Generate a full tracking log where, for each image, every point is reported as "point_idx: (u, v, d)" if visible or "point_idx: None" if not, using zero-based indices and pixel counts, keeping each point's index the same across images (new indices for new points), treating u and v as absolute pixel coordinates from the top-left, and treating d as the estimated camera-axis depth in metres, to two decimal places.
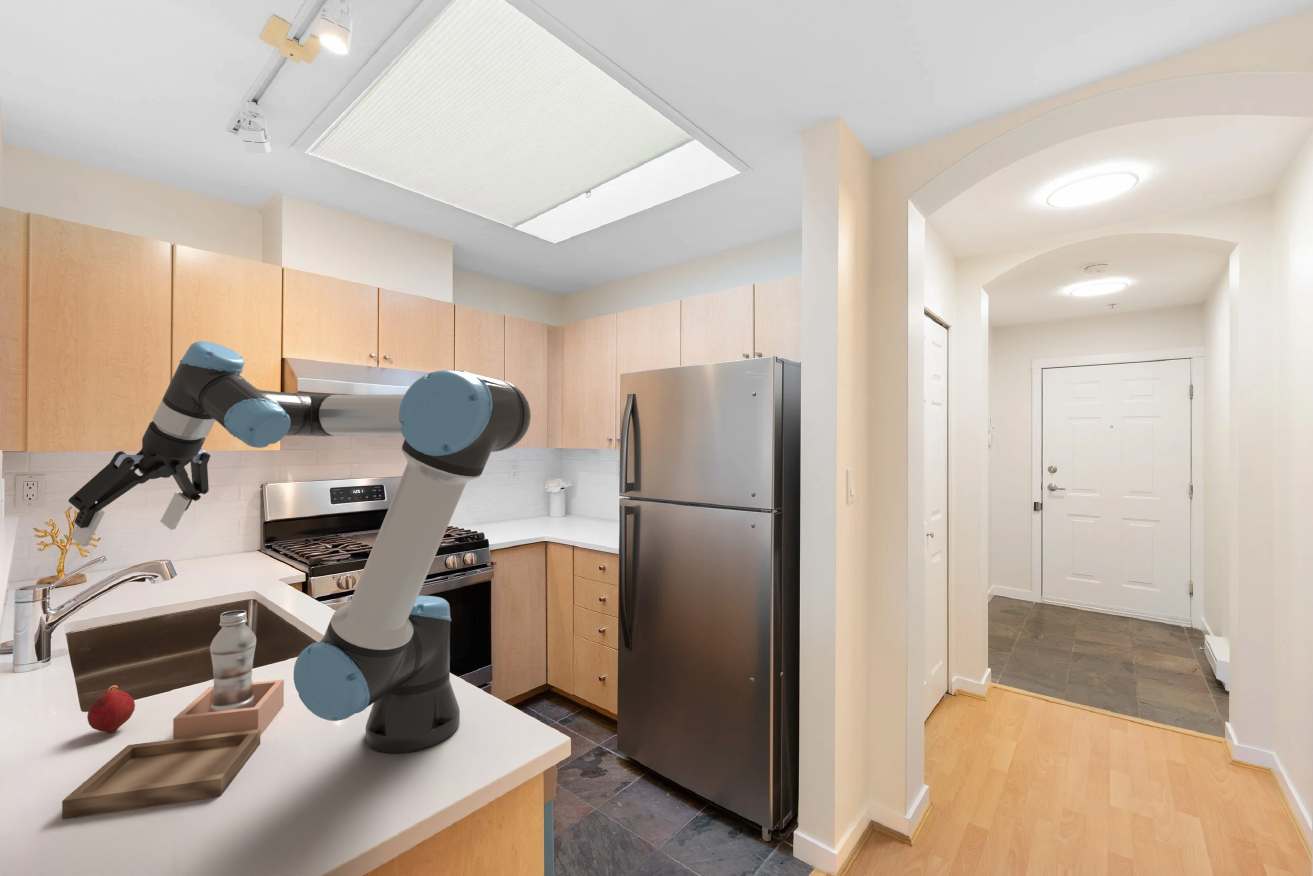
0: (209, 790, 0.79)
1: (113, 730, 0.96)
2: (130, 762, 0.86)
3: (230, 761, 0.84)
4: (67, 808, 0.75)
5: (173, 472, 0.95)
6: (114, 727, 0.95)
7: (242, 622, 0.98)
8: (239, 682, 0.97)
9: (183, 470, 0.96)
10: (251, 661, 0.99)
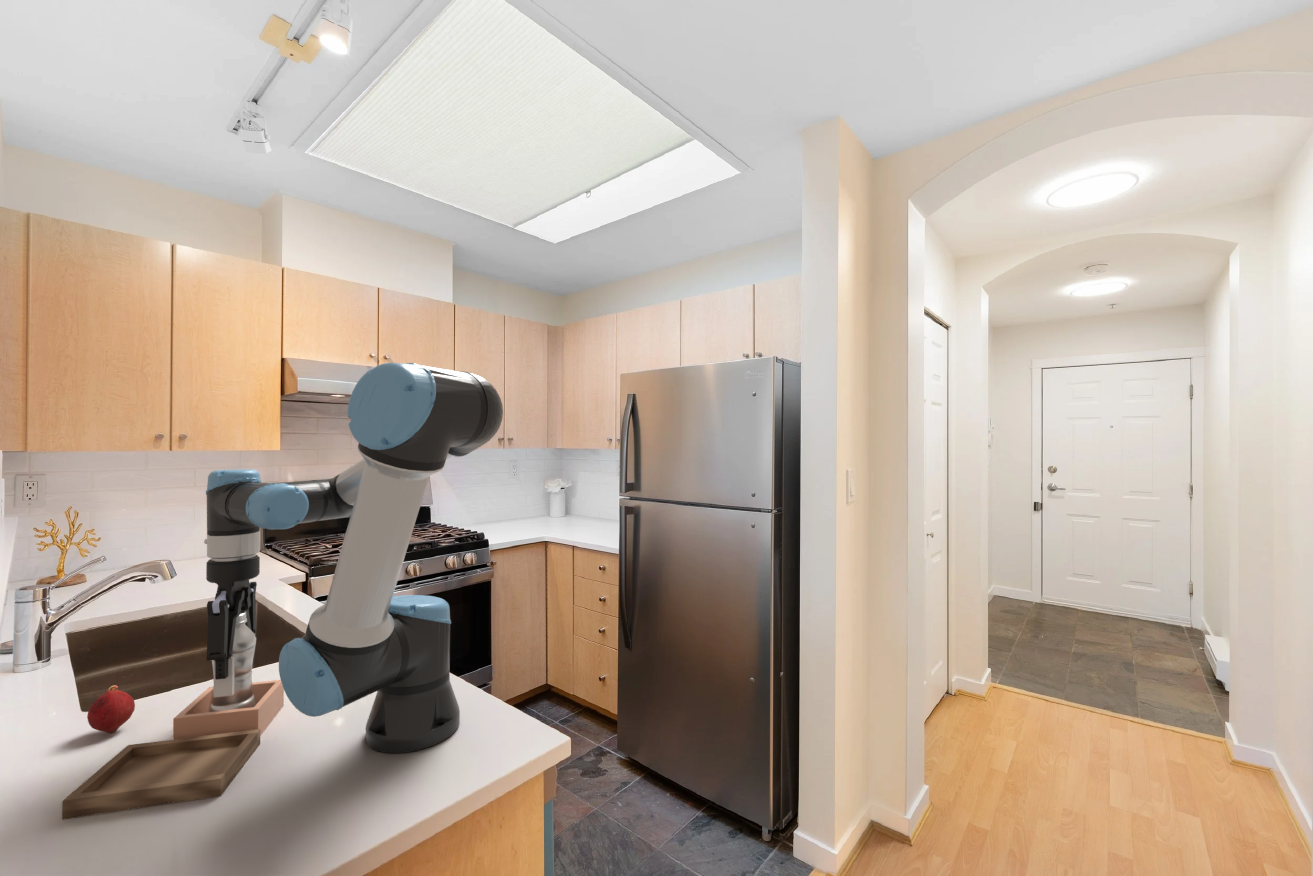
0: (209, 790, 0.79)
1: (113, 730, 0.96)
2: (130, 762, 0.86)
3: (230, 761, 0.84)
4: (67, 808, 0.75)
5: (242, 601, 1.00)
6: (114, 727, 0.95)
7: (242, 622, 0.98)
8: (239, 682, 0.97)
9: (249, 597, 1.01)
10: (251, 661, 0.99)
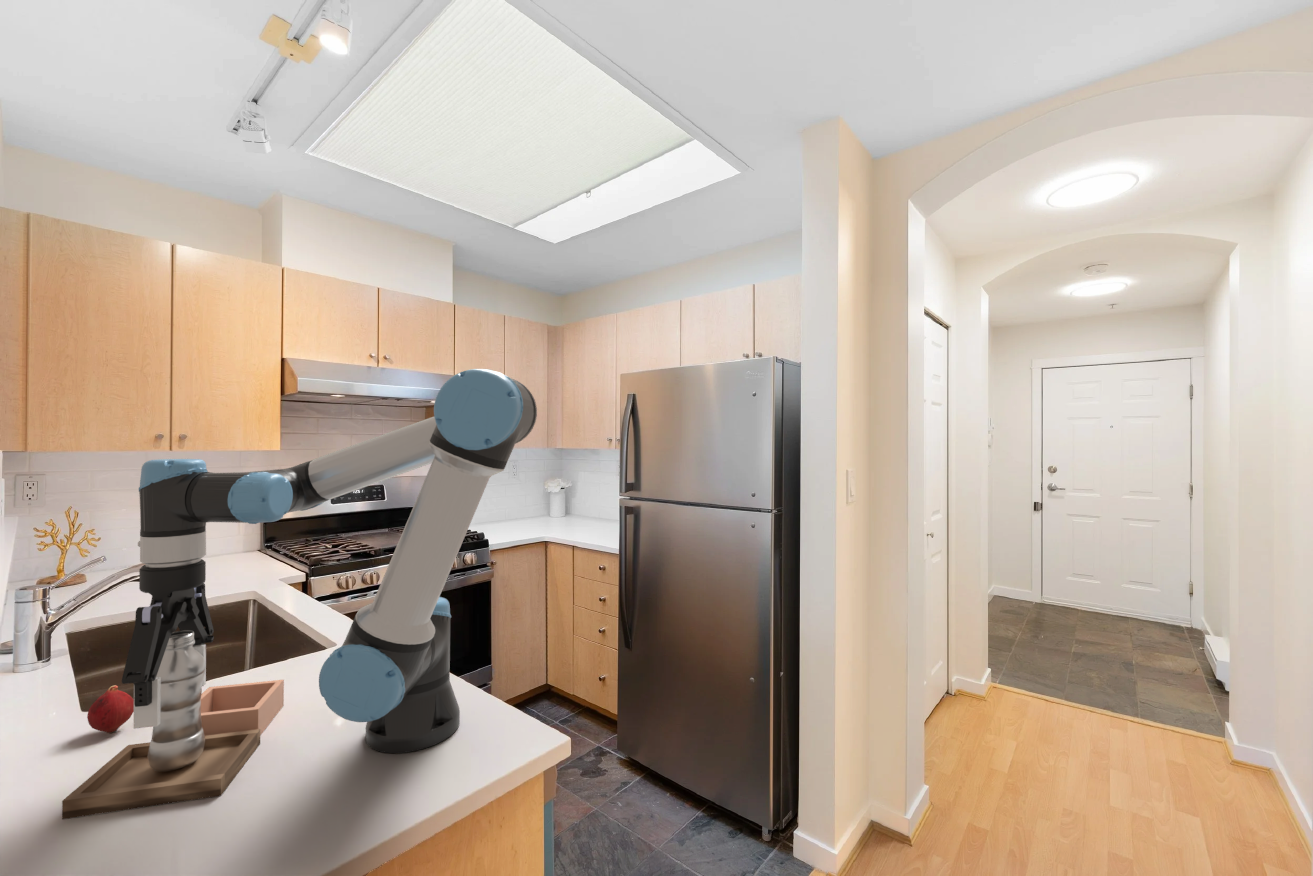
0: (209, 790, 0.79)
1: (113, 730, 0.96)
2: (130, 762, 0.86)
3: (230, 761, 0.84)
4: (67, 808, 0.75)
5: (187, 612, 0.85)
6: (114, 727, 0.95)
7: (188, 645, 0.85)
8: (184, 715, 0.84)
9: (195, 606, 0.87)
10: (199, 690, 0.86)
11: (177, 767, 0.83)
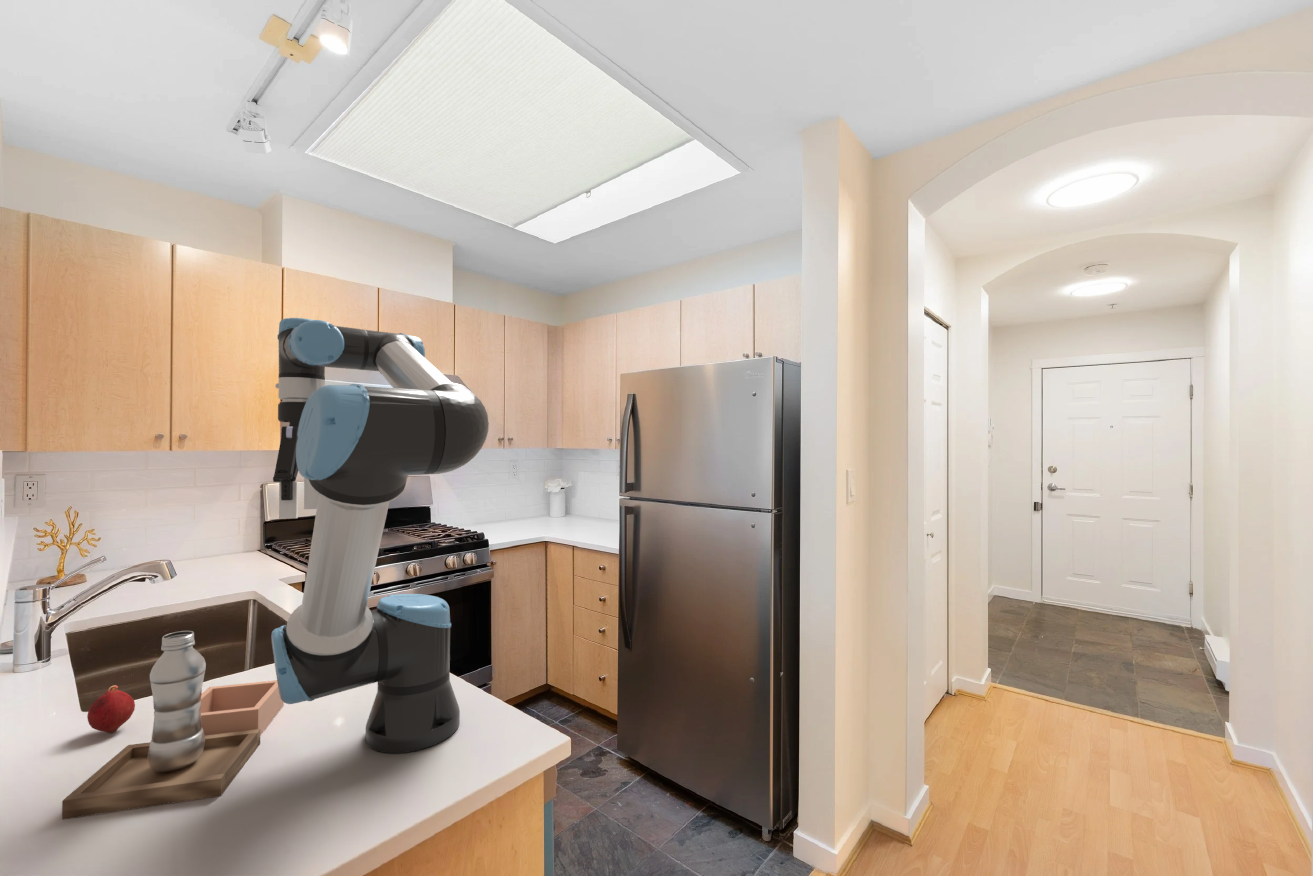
0: (209, 790, 0.79)
1: (113, 730, 0.96)
2: (130, 762, 0.86)
3: (230, 761, 0.84)
4: (67, 808, 0.75)
5: None
6: (114, 727, 0.95)
7: (188, 645, 0.85)
8: (183, 715, 0.84)
9: None
10: (199, 690, 0.86)
11: (177, 767, 0.83)
